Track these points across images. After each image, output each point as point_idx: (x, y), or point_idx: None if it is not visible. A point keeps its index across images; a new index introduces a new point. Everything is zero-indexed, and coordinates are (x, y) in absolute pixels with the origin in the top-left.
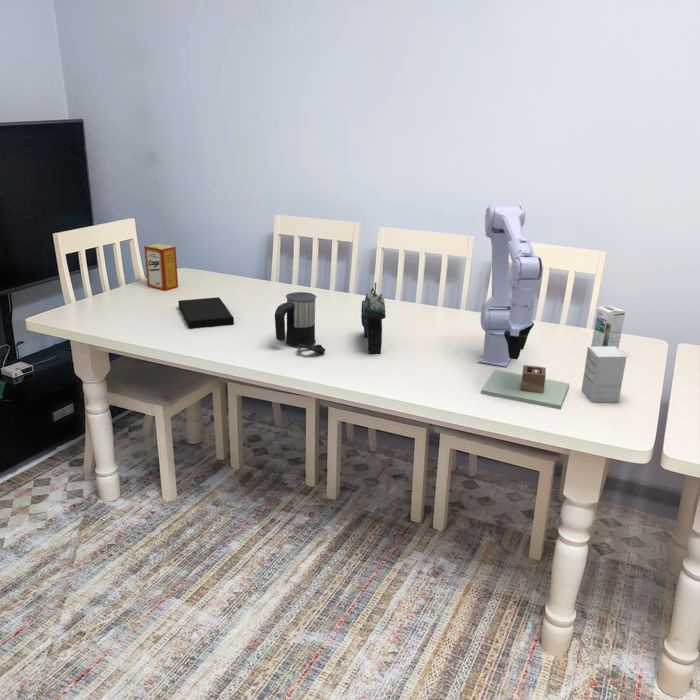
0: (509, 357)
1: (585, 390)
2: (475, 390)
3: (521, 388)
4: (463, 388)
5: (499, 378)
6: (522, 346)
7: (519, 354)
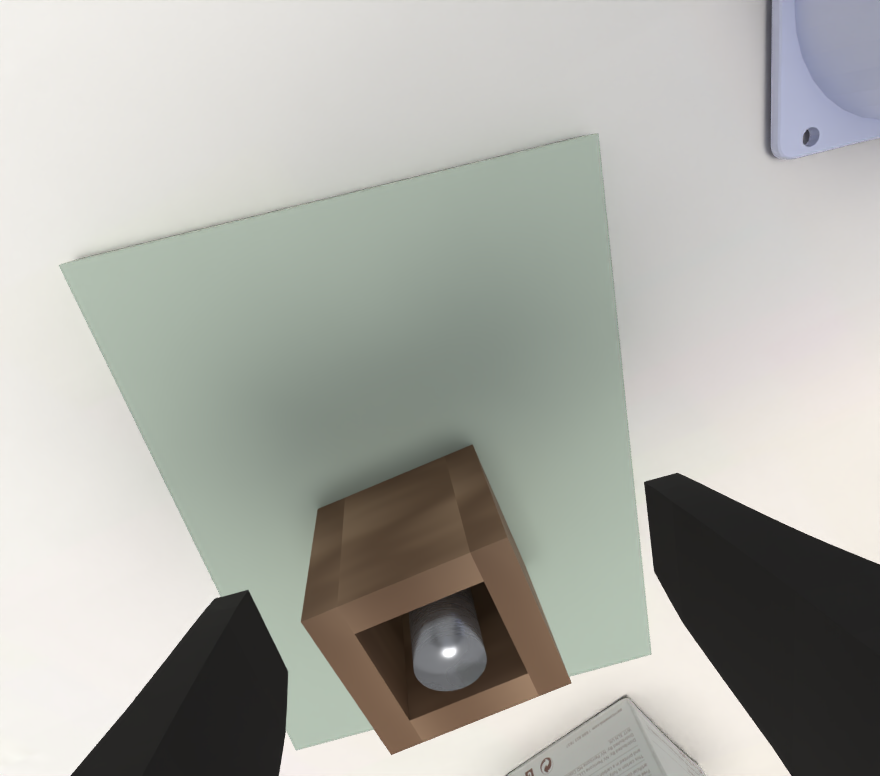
0: (202, 613)
1: (587, 752)
2: (95, 185)
3: (317, 523)
4: (29, 57)
5: (428, 272)
6: (676, 601)
7: (281, 749)
